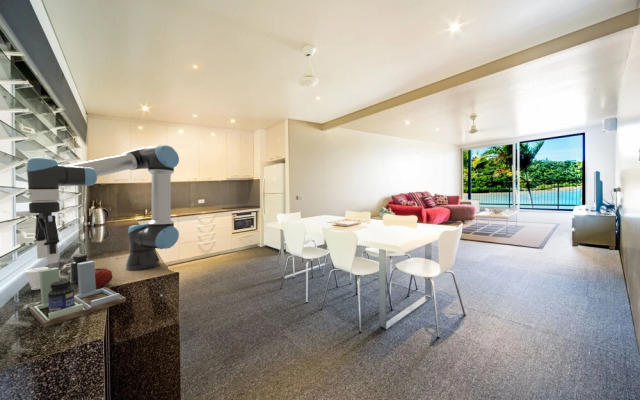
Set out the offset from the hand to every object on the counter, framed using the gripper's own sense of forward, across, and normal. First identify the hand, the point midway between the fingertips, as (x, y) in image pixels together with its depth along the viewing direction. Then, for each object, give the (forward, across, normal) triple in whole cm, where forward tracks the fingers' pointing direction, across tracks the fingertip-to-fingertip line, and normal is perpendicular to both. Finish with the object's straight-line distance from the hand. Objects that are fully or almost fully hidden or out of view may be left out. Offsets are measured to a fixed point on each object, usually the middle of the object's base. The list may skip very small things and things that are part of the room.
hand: (47, 260), depth 93 cm
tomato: (+16, -8, +16) cm, 25 cm away
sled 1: (+16, +9, 0) cm, 19 cm away
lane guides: (+16, +10, +6) cm, 20 cm away
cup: (+16, -31, +2) cm, 35 cm away
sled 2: (+16, +9, +11) cm, 21 cm away
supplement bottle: (+16, -24, +14) cm, 32 cm away
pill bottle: (+17, +14, 0) cm, 22 cm away
